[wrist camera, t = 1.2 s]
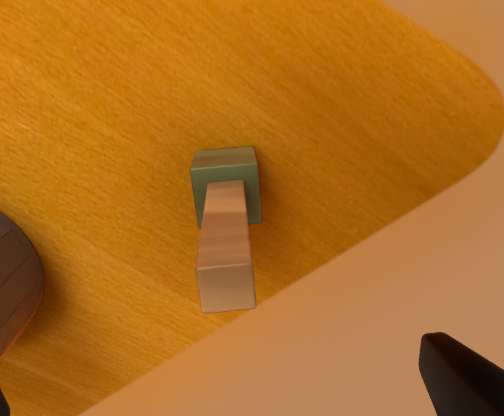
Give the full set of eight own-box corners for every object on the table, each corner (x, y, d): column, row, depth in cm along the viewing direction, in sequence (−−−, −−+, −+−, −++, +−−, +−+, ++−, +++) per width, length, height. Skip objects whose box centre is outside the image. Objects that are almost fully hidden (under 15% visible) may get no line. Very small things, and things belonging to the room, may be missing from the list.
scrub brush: (257, 199, 21) (281, 326, 11) (202, 204, 20) (181, 336, 11) (253, 145, 19) (276, 238, 10) (194, 150, 19) (164, 248, 10)
